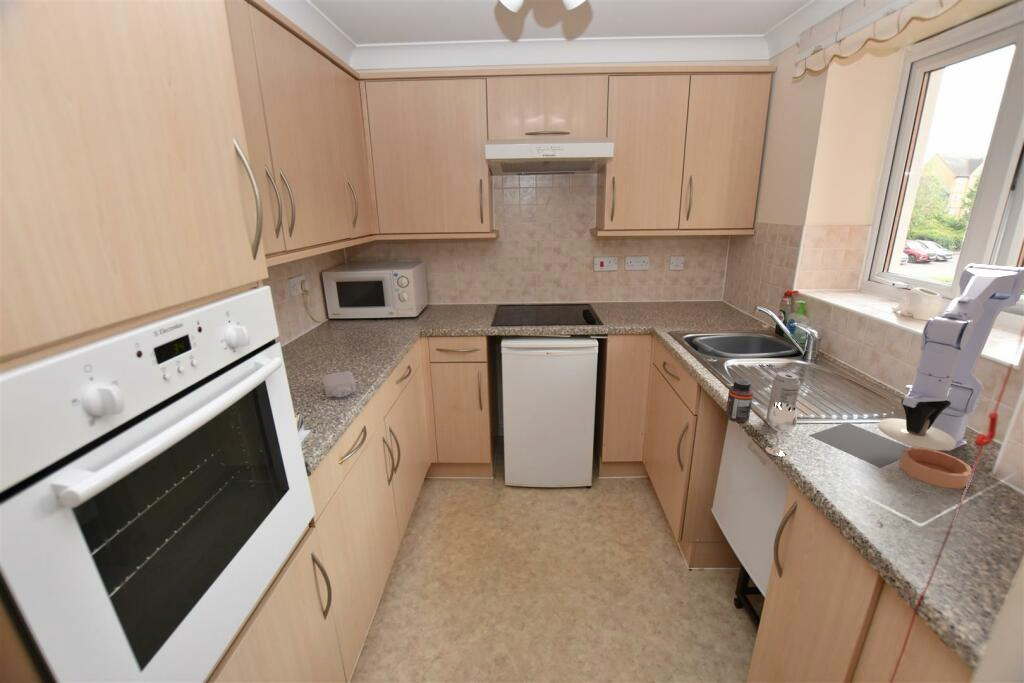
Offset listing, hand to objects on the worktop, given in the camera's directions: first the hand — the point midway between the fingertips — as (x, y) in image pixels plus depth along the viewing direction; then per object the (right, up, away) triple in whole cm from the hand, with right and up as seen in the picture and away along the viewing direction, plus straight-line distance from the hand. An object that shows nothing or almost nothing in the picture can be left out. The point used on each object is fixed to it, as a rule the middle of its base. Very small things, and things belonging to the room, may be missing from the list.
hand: (917, 429), depth 98 cm
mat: (-4, -6, +11) cm, 13 cm away
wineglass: (-27, -7, +8) cm, 29 cm away
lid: (0, -1, +1) cm, 1 cm away
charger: (-147, +3, +45) cm, 153 cm away
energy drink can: (-19, -3, +20) cm, 28 cm away
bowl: (+2, -10, -1) cm, 10 cm away
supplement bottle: (-28, -2, +25) cm, 37 cm away
